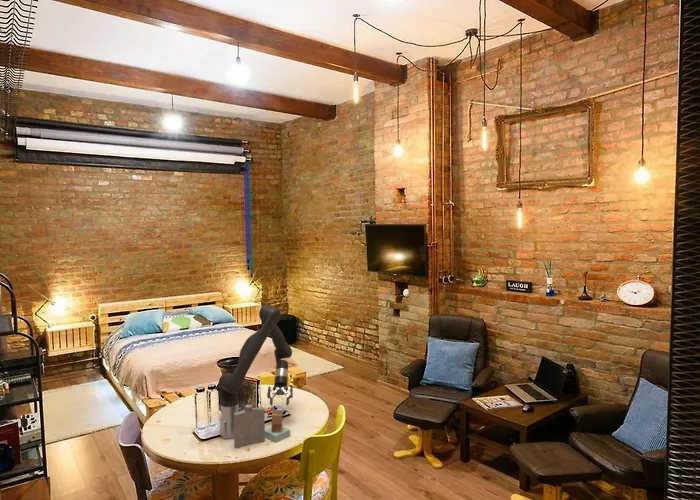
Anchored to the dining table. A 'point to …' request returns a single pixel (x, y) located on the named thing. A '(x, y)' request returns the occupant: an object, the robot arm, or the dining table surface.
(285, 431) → the plinth block
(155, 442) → the dining table surface
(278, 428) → the walnut block
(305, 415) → the dining table surface
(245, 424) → the hip flask
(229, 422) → the robot arm
